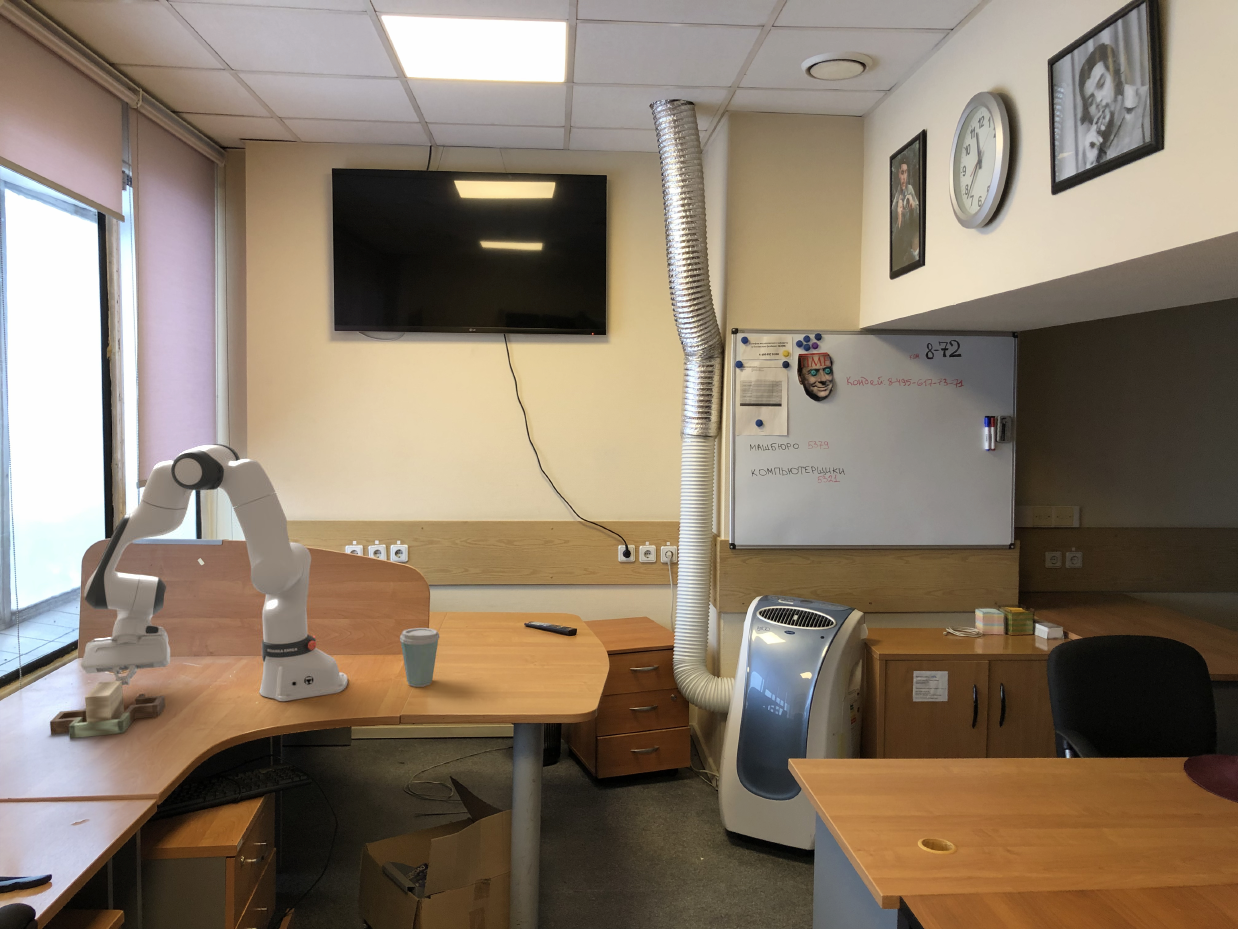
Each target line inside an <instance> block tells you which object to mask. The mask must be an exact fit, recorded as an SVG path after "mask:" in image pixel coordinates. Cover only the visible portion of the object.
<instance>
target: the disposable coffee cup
mask: <svg viewBox="0 0 1238 929" xmlns="http://www.w3.org/2000/svg"><path fill="white" fill-rule="evenodd" d="M439 639H440V633H439V632H438V631H437V630H436V629H434V628H428V627H416V628H408V629H404V630H403V631H402V632H401V634H400V636H399V641H400V645H401V649H402V656H403V657H402V658H403V664H404V669H405V670H404V671H405V676H406V677H405V678H406V682H407V683H408V685H409V686H411V687H415V688H423V687H427V686H429V685H431V683H432V681H433V678H434V671H435V665H436V658H437V652H438V651H437V650H438V645H439Z"/></svg>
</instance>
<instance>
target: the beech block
mask: <svg viewBox="0 0 1238 929" xmlns="http://www.w3.org/2000/svg"><path fill="white" fill-rule="evenodd" d="M123 691H124V690H123V685H122V681H116V680H115V681H114V680H113V681H103V682H99V683H97V684H96V685H95V687H94V688H92V689H91V691H90V692H88V694H86V696H85V698H84V699H85V700H84V701H85V702H84V703H85V708H86V718H87V722H95V721H106V720H116V719H120V717H121V716H122V715H123V714H124V713H125V707H124V694H123V693H124V692H123Z"/></svg>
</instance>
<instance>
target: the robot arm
mask: <svg viewBox="0 0 1238 929" xmlns="http://www.w3.org/2000/svg"><path fill="white" fill-rule="evenodd" d="M174 458H175V459H173V460H165V461H161V462H158V463H157V464H155V466H154V467H153V469H152V470H151V472H150V474H149V476H148V478H147V481H146V484H145V486H144V489H143V492H142V496H141V498H140V502H139V504H138V505H137V507H136V508H135V509H134V510H133V511H132V512H131V513H129V514H124V515H123V516H122V517H121V519H120V520H119V521H118V524H117V526H115V528H114V531H113V533H112V535H111V537H110V539H109V540H108V543H107V545H106V547H105V549H104V551H103V553H102V555H101V558H100V559H99V561H98V564H97V565H96V568H95V570H94V572H93V573H92V574H91V576H89V578H88V580H87V583H85V588H84V592H83V596H84V598H83V600H84V601H86V603H87V604H88V605H89V606H90V607H91V608H92V609H94V610H116V615H117V616H116V617H117V618H116V619H115V621H114V625H113V629H112V633H111V634H112V635H111V637H104V638H94V639H92V640H90V641H89V642H86V644H85V649H84V654H83V656H82V661H81V665H80V666H81V669H82V670H83V671H84V673H86V674H98V673H110V672H111V673H113V675H114V677H115V681H122V686H129V685H130V683H131V679H132V678H133V677H134V676H135V675H136V673H137V671H138V670H142V669H144V670H145V669H155V668H165V667H167V666H168V665H169V664H170V663H171V648H170V645H169V636H168V633H167V631H166V630H165V629H164V627H163V626H158V625H153V624H152V618H153V616H155V615H156V614H158V613H159V612H160V611H161V610H162V609H163V607H164V604H165V603H164V602H165V593H166V590H167V585H166V584H165V582H164V581H163V579H161V577H158V576H154V575H147V574H135V573H134V574H133V573H126V572H119V571H116V570H115V569H116V568H117V566H118V563H119V561H120V560H121V557H122V555H123V553H124V551H125V549H126V548H127V546H129V545H130V544H132V543H133V542H135V541H138V540H143V539H148V538H155V537H161V536H164V535H168V534H169V533H172V532H174V531H176V530H177V529H178V528H179V527H180V526H181V525H182V524H183V522H184V519H185V517H186V514H187V511H188V508H189V507H188V506H189V505H190V504H189V503H190V499H191V496H192V493H193V491H213V490H218V488H219V489H222V490H223V491H224V492H225V493H226V494H227V496H228V498H229V501H230V503H231V505H232V508H233V510H234V514H235V516H236V518H237V520H238V523H239V526H240V528H241V530H242V532H243V536H244V540H245V543H246V544H245V545H246V549H247V553H248V560H249V564H250V581H251V584H252V585H253V587H254V589H256V590H257V591H258V592H260V593H261V594H263V595H264V594H265V599H264V604H263V608H262V615H261V616H262V633H263V634H262V637H263V639H262V641H261V659H262V662H263V670H262V677H261V682H260V684H261V685H260V689H259V694H260V695H261V696H263V697H266V698H270V699H275V700H276V701H279V702H287V701H294V700H300V699H301V700H302V699H305V698H311V697H313V698H314V697H318V696H325V695H332V694H338V693H340V692H342V691H343V690H345V689H346V687H347V686H348V676H347V674H345V673H343V672H340V670H339V666H338V663H337V662H336V660H335V658H334V657H332V656H331V655H329V654H328V653H325V652H324V651H322V650H320V649H318V648H317V639H316V636H315V635H313V636H312V635H310V634H308V617H307V615H308V613H307V611H308V610H307V609H308V608H307V605H308V604H307V603H308V595H309V585H310V569H311V563H312V555H311V553H310V550H309V549H308V548H307V547H306V546H305V545H304V544H302V543H299V542H292V541H291V542H290V537H289V532H288V520H287V517H286V514H285V511H284V510H283V508H282V505H281V502H280V500H279V496H278V495H277V493H276V490H275V488H274V486H273V484H272V481H271V480H270V477H269V476H268V474H267V473H266V471H265V469H264V468H263V466H262V465H261V463H260V462H258V461H257V460H255V459H250V458H243V459H241V458H240V456H239V454H238V452H237V451H236V450H235V449H233V448H232V447H231V446H228V445H225V444H221V443H215V444H211V445H200V446H196V447H193V448H189V449H186V450H184V451H183V452H181V453H180V454H178V455H177V456H176V457H174ZM122 671H129V672H128V673H127V674H126V675H122V676H120V674H121V673H122Z"/></svg>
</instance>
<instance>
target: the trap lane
mask: <svg viewBox="0 0 1238 929" xmlns="http://www.w3.org/2000/svg"><path fill="white" fill-rule="evenodd" d="M165 701H166V700H165V695H164V694H163V695H151V696H146V693H143V692H142V693H139V694H138V695H137V697H136V698H135V699H134V702H135V703H134V704H132V705H131V704H130V705H129V706H128V707H127V708H126V710H124V714H123V715H122V716H121V717H120V719H116V720H106V721H95V722H87V718H86V707H85V708H84V709H75V710H74V709H73V710H62V711H59V712H58V713H57V714H56V715H55V716H54V717H53V718H52V719H51V720H50V722H49V726H50V735H55V734H64V733H69V734H68V735H69V739H73V738H74V739H75V738H84V737H85V738H86V737H94V736H95V737H96V736H104V735H116V734H124V733H125V732H126V731H127V729H128V728H129V726H131V724H132V723H133V722H134V720H135V719H141V718H142V719H143V718H153V717H159V715H160V714H161V713H162V712H163V710H164V709H165V704H166V703H165Z"/></svg>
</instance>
